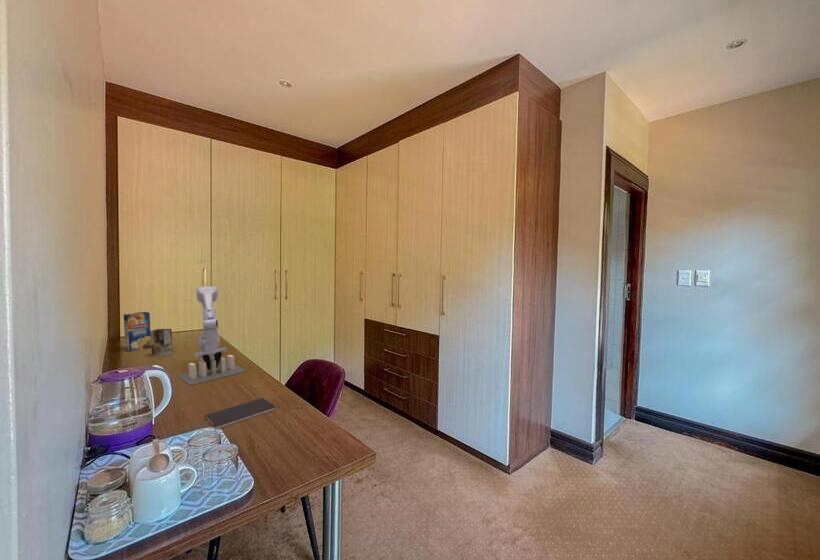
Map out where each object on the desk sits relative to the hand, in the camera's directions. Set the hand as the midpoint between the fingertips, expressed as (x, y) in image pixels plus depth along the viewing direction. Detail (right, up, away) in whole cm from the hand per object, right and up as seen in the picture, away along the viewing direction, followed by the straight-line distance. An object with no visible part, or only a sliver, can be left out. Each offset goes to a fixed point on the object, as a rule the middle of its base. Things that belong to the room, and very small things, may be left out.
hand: (212, 368), depth 174 cm
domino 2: (-3, -3, -3) cm, 5 cm away
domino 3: (+3, -2, +4) cm, 5 cm away
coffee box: (-52, -2, +36) cm, 63 cm away
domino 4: (+6, -2, +7) cm, 9 cm away
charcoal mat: (0, -3, 0) cm, 3 cm away
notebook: (+37, -6, -45) cm, 59 cm away
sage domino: (0, -3, 0) cm, 3 cm away
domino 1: (-6, -3, -7) cm, 9 cm away
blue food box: (-80, -1, +52) cm, 95 cm away
